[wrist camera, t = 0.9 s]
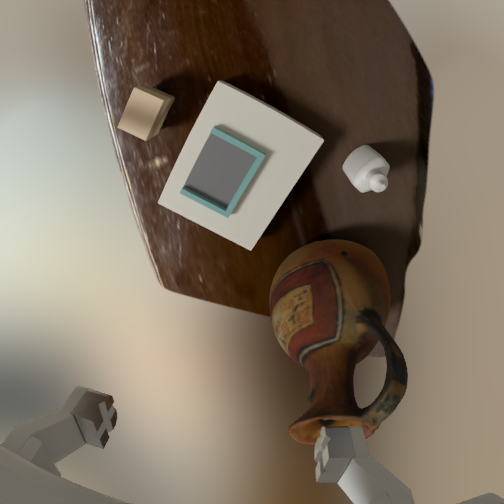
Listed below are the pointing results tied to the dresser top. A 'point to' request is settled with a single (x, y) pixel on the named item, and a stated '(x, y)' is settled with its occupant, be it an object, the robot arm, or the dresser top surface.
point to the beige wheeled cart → (145, 112)
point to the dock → (238, 165)
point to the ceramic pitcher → (336, 332)
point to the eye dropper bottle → (366, 169)
